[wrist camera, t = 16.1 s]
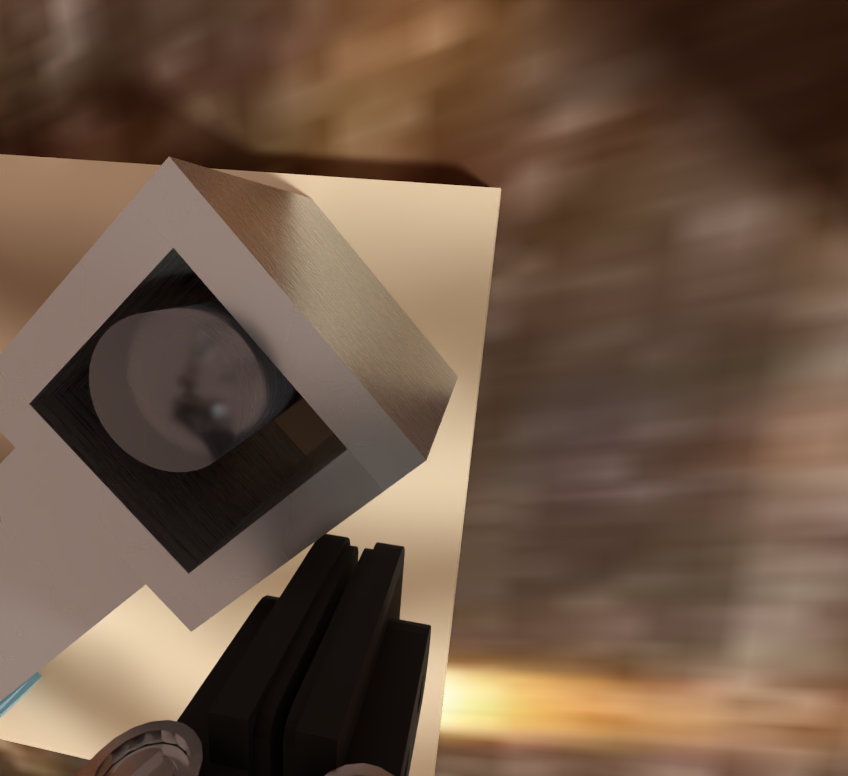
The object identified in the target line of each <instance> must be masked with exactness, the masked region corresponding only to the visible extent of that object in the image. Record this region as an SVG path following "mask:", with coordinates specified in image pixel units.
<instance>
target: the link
mask: <svg viewBox="0 0 848 776" xmlns="http://www.w3.org/2000/svg"><path fill="white" fill-rule="evenodd" d="M213 301H220V302H221V303H222V304H223V306H224V307H225V308H226V309H227V310H228V311H229V313H230V314H231V315H232V316H233V317H234V318H235V319H236V321H237V322H238V323H239V324H240V325H241V326H242V328H243V329H244V330H245V331H246V332H247V333H248V334H249V336H250V337H251V338H252V339H253V340H254V341H255V343H256V344H257V345H258V346H259V347H260V348H261V349H262V351H263V352H264V353H265V354H266V355H267V356H268V358H269V359H270V360H271V361H272V362H273V363H274V365H275V366H276V367H277V368H278V369H279V370H280V371H281V373H282V374H283V375H284V376H285V377H286V378H287V380H288V381H289V382H290V383H291V384H292V385H293V386H294V388H295V389H296V390H297V391H298V392H299V393H300V395H301V396H302V397H303V398H304V399H305V400H306V401H307V403H308V404H309V405H310V406H311V407H312V408H313V410H314V411H315V412H316V413H317V414H318V415H319V416H320V418H321V419H322V420H323V421H324V422H325V423H326V425H327V426H328V427H329V428H330V429H331V430H332V432H333V434H332V435H331V436H330V437H328V438H327V439H326V440H325V441H323V442H322V443H321V444H320V445H318V446H317V447H316V448H315V449H313V450H312V451H311V452H310V453H309V454H307V455H306V456H305V455H304V453H303V452H302V451H301V450H300V449H299V448H298V447H297V445H296V444H295V443H294V442H293V441H292V440H291V439H290V437H289V436H288V435H287V434H286V433H285V432H284V431H283V430H282V428H281V427H280V426H279V425H278V424H277V423H276V422H275V420H272V421H271V422H270V423H268V424H267V425H265V426H264V427H263V428H261V429H260V430H258V431H257V432H256V433H254V434H253V435H251V436H250V437H249V438H247V439H246V440H244V441H243V442H242V443H240V444H239V445H238V446H236V447H235V448H233V449H232V450H231V451H229V452H228V453H226V454H225V455H224V456H222V457H221V458H219V459H218V460H217V461H215V462H214V463H212V464H210V465H208V466H206V467H204V468H201V469H198V470H195V471H189V472H169V471H164V470H159V469H156V468H153V467H150V466H148V465H146V464H144V463H142V462H140V461H138V460H137V459H135V458H133V457H132V456H131V455H129V454H128V453H127V452H125V451H124V450H123V449H122V448H121V447H120V446H119V445H118V444H117V443H116V442H115V441H114V440H113V439H112V438H111V436H110V435H109V434H108V432H107V431H106V429H105V428H104V427H103V425H102V423H101V421H100V419H99V417H98V415H97V413H96V410H95V408H94V405H93V402H92V398H91V393H90V387H89V369H90V362H91V358H92V355H93V352H94V349H95V347H96V345H97V343H98V342H99V340H100V338H101V337H102V336H103V334H104V333H105V332H106V331H107V330H108V329H109V328H110V327H111V326H112V325H114V324H115V323H117V322H118V321H120V320H122V319H124V318H126V317H128V316H131V315H135V314H139V313H145V312H151V311H157V310H164V309H170V308H176V307H182V306H188V305H195V304H201V303H207V302H213ZM457 379H458V376H457V375H456V374H455V372H454V371H453V370H452V369H451V368H450V366H449V365H448V364H447V363H446V362H445V360H444V359H443V358H442V357H441V355H440V354H439V353H438V352H437V351H436V349H435V348H434V347H433V346H432V344H431V343H430V342H429V341H428V340H427V338H426V337H425V336H424V335H423V333H422V332H421V331H420V330H419V329H418V327H417V326H416V325H415V324H414V323H413V321H412V320H411V319H410V318H409V316H408V315H407V314H406V313H405V312H404V310H403V309H402V308H401V307H400V305H399V304H398V303H397V302H396V301H395V299H394V298H393V297H392V296H391V295H390V293H389V292H388V291H387V290H386V288H385V287H384V286H383V285H382V284H381V282H380V281H379V280H378V279H377V277H376V276H375V275H374V274H373V273H372V271H371V270H370V269H369V268H368V266H367V265H366V264H365V263H364V262H363V260H362V259H361V258H360V257H359V256H358V254H357V253H356V252H355V251H354V249H353V248H352V247H351V246H350V245H349V243H348V242H347V241H346V240H345V238H344V237H343V236H342V235H341V234H340V232H339V231H338V230H337V229H336V228H335V226H334V225H333V224H332V223H331V221H330V220H329V219H328V218H327V217H326V215H325V214H324V213H323V212H322V210H321V209H320V208H319V207H318V206H317V204H316V203H315V202H314V201H313V199H312V198H308V197H305V196H302V195H298V194H295V193H291V192H288V191H285V190H281V189H278V188H274V187H271V186H268V185H264V184H261V183H258V182H254V181H251V180H247V179H244V178H241V177H237V176H234V175H230V174H227V173H224V172H220V171H217V170H213V169H210V168H207V167H203V166H200V165H196V164H193V163H190V162H186V161H183V160H180V159H176V158H173V157H168V158H167V159H166V160H165V162H164V163H163V164H162V165H161V166H160V167H159V169H158V170H157V171H156V172H155V173H154V175H153V176H152V177H151V178H150V179H149V180H148V182H147V183H146V184H145V185H144V186H143V187H142V189H141V190H140V191H139V192H138V193H137V194H136V196H135V197H134V198H133V199H132V200H131V201H130V203H129V204H128V205H127V206H126V207H125V208H124V210H123V211H122V212H121V213H120V214H119V216H118V217H117V218H116V219H115V220H114V221H113V223H112V224H111V225H110V226H109V227H108V228H107V230H106V231H105V232H104V233H103V234H102V235H101V237H100V238H99V239H98V240H97V241H96V242H95V244H94V245H93V246H92V247H91V248H90V249H89V251H88V252H87V253H86V254H85V255H84V257H83V258H82V259H81V260H80V261H79V262H78V264H77V265H76V266H75V267H74V268H73V269H72V271H71V272H70V273H69V274H68V275H67V276H66V278H65V279H64V280H63V281H62V282H61V283H60V285H59V286H58V287H57V288H56V289H55V290H54V292H53V293H52V294H51V295H50V296H49V298H48V299H47V300H46V301H45V302H44V303H43V305H42V306H41V307H40V308H39V309H38V310H37V312H36V313H35V314H34V315H33V316H32V317H31V319H30V320H29V321H28V322H27V323H26V324H25V326H24V327H23V328H22V329H21V330H20V331H19V333H18V334H17V335H16V336H15V337H14V339H13V340H12V341H11V342H10V343H9V344H8V346H7V347H6V348H5V349H4V350H3V351H2V353H1V354H0V432H1V433H2V434H3V435H4V436H5V437H6V438H7V439H8V440H9V441H10V442H11V443H12V444H13V445H14V446H15V449H14V450H13V451H12V452H11V453H10V454H9V455H8V456H7V457H6V458H5V459H4V460H3V461H2V462H1V464H0V701H1V700H3V699H4V698H5V697H6V696H8V695H9V694H10V693H11V692H13V691H14V690H15V689H16V688H18V687H19V686H20V685H21V684H23V683H24V682H25V681H26V680H27V679H29V678H30V677H31V676H32V675H34V674H35V673H36V672H37V671H39V670H40V669H41V668H42V667H44V666H45V665H46V664H47V663H49V662H50V661H51V660H52V659H54V658H55V657H56V656H57V655H59V654H60V653H61V652H62V651H64V650H65V649H66V648H67V647H69V646H70V645H71V644H72V643H73V642H75V641H76V640H77V639H78V638H80V637H81V636H82V635H83V634H85V633H86V632H87V631H88V630H90V629H91V628H92V627H93V626H95V625H96V624H97V623H98V622H100V621H101V620H102V619H103V618H105V617H106V616H107V615H108V614H110V613H111V612H112V611H113V610H115V609H116V608H117V607H118V606H120V605H121V604H122V603H123V602H124V601H126V600H127V599H128V598H129V597H131V596H132V595H133V594H134V593H136V592H137V591H138V590H139V589H141V588H142V587H143V586H144V585H147V586H148V587H149V588H150V589H151V590H152V591H153V592H154V593H155V594H156V596H157V597H158V598H159V599H160V600H161V601H162V602H163V603H164V604H165V605H166V606H167V607H168V608H169V609H170V610H171V611H172V612H173V613H174V614H175V615H176V617H177V618H178V619H179V620H180V621H181V622H182V623H183V624H184V625H185V626H186V627H187V628H188V629H189V630H190V631H191V632H192V631H193V630H195V629H196V628H197V627H199V626H200V625H202V624H203V623H204V622H206V621H207V620H208V619H210V618H211V617H213V616H214V615H215V614H217V613H218V612H219V611H221V610H222V609H223V608H225V607H226V606H228V605H229V604H230V603H232V602H233V601H234V600H236V599H237V598H239V597H240V596H241V595H243V594H244V593H245V592H247V591H248V590H249V589H251V588H252V587H254V586H255V585H256V584H258V583H259V582H260V581H262V580H263V579H265V578H266V577H267V576H269V575H270V574H271V573H273V572H274V571H276V570H277V569H278V568H280V567H281V566H282V565H284V564H285V563H286V562H288V561H289V560H291V559H292V558H293V557H295V556H296V555H297V554H299V553H300V552H302V551H303V550H304V549H306V548H307V547H308V546H310V545H311V544H312V543H314V542H315V541H317V540H318V539H319V538H321V537H322V536H323V535H325V534H326V533H328V532H329V531H330V530H332V529H333V528H334V527H336V526H337V525H339V524H340V523H341V522H343V521H344V520H345V519H347V518H348V517H349V516H351V515H352V514H354V513H355V512H356V511H358V510H359V509H360V508H362V507H363V506H365V505H366V504H367V503H369V502H370V501H371V500H373V499H374V498H376V497H377V496H378V495H380V494H381V493H382V492H384V491H385V490H386V489H388V488H389V487H391V486H392V485H393V484H395V483H396V482H397V481H399V480H400V479H402V478H403V477H404V476H406V475H407V474H408V473H410V472H411V471H412V470H414V469H415V468H417V467H418V466H419V465H421V464H422V463H423V462H425V461H426V460H427V458H428V455H429V452H430V450H431V447H432V444H433V442H434V439H435V437H436V434H437V431H438V429H439V426H440V423H441V421H442V418H443V416H444V413H445V410H446V408H447V405H448V402H449V400H450V397H451V395H452V392H453V389H454V387H455V384H456V381H457Z"/></svg>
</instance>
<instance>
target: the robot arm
mask: <svg viewBox="0 0 848 776" xmlns="http://www.w3.org/2000/svg"><path fill="white" fill-rule="evenodd" d="M404 556H405V548H404V546H398V545H392V544H386V543H380V542H377V543H376V544H375V546H374V548H373V549H369V548H365V549H364V550H363V552H362V554H361V557H360V559H359V561H358V547H357V546H351V545H350V539H349V538H348V537H343V536H337V535H331V534H325V535H323V536H322V537H321V538H319V539H318V540H317V541H315V542H314V544H313V546H312V547H311V549H310V550H309V552H308V553H307V555H306V557H305V558H304V560H303V561H302V563H301V564H300V566H299V568H298V569H297V571H296V572H295V574H294V575H293V577H292V579H291V580H290V582H289V583H288V585H287V586H286V588H285V590H284V591H283V593H282V594H281V596H280V597H274V596H269V595H266V596H264V597H262V599H261V600H260V601H259V602H258V603H257V605H256V606H255V608H254V609H253V611H252V612H251V613H250V615H249V616H248V618H247V619H246V621H245V622H244V624H243V625H242V627H241V628H240V630H239V631H238V632H237V634H236V635H235V637H234V638H233V640H232V641H231V643H230V644H229V646H228V647H227V649H226V650H225V651H224V653H223V654H222V656H221V657H220V659H219V660H218V662H217V663H216V665H215V666H214V668H213V669H212V670H211V672H210V673H209V675H208V676H207V678H206V679H205V681H204V682H203V684H202V685H201V687H200V688H199V689H198V691H197V692H196V694H195V695H194V697H193V698H192V700H191V701H190V703H189V704H188V706H187V707H186V708H185V710H184V711H183V713H182V714H181V716H180V717H179V719H178V720H177V722H176V721H171V720H161V721H151V722H148V723H145V724H142V725H139V726H136V727H133V728H131V729H129V730H128V731H126V732H124V733H122V734H121V735H119V736H117V737H115V738H114V739H113V740H112V741H110V742H109V743H108V744H107V745H106V746H105V747H103V748H102V749H101V750H100V751H99V752H98V753H97V754H96V755H95V756H94V757H93V758H92V759H91V760H90V761H89V762H88V763H87V764H86V765H85V766H84V767H83V768H82V769H81V770H80V771H79V772H78V773H77V774H76V775H75V776H409V771H410V766H411V760H412V755H413V749H414V744H415V739H416V733H417V728H418V722H419V717H420V711H421V706H422V700H423V694H424V687H425V681H426V673H427V666H428V657H429V647H430V638H431V625H427V624H422V623H416V622H411V621H405V620H400V608H401V595H402V582H403V569H404Z"/></svg>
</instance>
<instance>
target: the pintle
mask: <svg viewBox="0 0 848 776" xmlns="http://www.w3.org/2000/svg"><path fill="white" fill-rule="evenodd" d="M89 387H90V393H91V398H92V402H93V405H94V408H95V410H96V413H97V415H98V417H99V419H100V421H101V423H102V425H103V427H104V428H105V429H106V431H107V432H108V434H109V435H110V436H111V438H112V439H113V440H114V441H115V442H116V443H117V444H118V445H119V446H120V447H121V448H122V449H123V450H124V451H125V452H127V453H128V454H129V455H131V456H132V457H133V458H135V459H137V460H138V461H140V462H142V463H144V464H146V465H148V466H150V467H153V468H156V469H159V470H164V471H169V472H189V471H195V470H198V469H201V468H204V467H206V466H208V465H210V464H212V463H214V462H215V461H217V460H218V459H219V458H221V457H222V456H224V455H225V454H226V453H228V452H229V451H231V450H232V449H233V448H235V447H236V446H238V445H239V444H240V443H242V442H243V441H244V440H246V439H247V438H249V437H250V436H251V435H253V434H254V433H256V432H257V431H258V430H260V429H261V428H263V427H264V426H265V425H267V424H268V423H270V422H271V421H272V420H274V419H275V418H276V417H278V416H279V415H281V414H282V413H283V412H285V411H286V410H288V409H289V408H290V407H292V406H293V405H295V404H296V403H297V402H299V401H300V400H302V399H303V397H302V396H301V395H300V393H299V392H298V391H297V390H296V389H295V388H294V386H293V385H292V384H291V383H290V382H289V381H288V380H287V378H286V377H285V376H284V375H283V374H282V373H281V371H280V370H279V369H278V368H277V367H276V366H275V365H274V363H273V362H272V361H271V360H270V359H269V358H268V356H267V355H266V354H265V353H264V352H263V351H262V349H261V348H260V347H259V346H258V345H257V344H256V343H255V341H254V340H253V339H252V338H251V337H250V336H249V334H248V333H247V332H246V331H245V330H244V329H243V328H242V326H241V325H240V324H239V323H238V322H237V321H236V319H235V318H234V317H233V316H232V315H231V314H230V313H229V311H228V310H227V309H226V308H225V307H224V306H223V304H222V303H221V302H220V301H213V302H207V303H201V304H195V305H188V306H182V307H176V308H170V309H164V310H157V311H151V312H145V313H139V314H135V315H131V316H128V317H126V318H124V319H122V320H120V321H118V322H117V323H115V324H114V325H112V326H111V327H110V328H109V329H108V330H107V331H106V332H105V333H104V334H103V336H102V337H101V338H100V340H99V342H98V343H97V345H96V347H95V349H94V352H93V355H92V358H91V362H90V369H89Z"/></svg>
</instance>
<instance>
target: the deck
mask: <svg viewBox="0 0 848 776" xmlns="http://www.w3.org/2000/svg"><path fill="white" fill-rule="evenodd" d="M160 166H161V165H152V164H137V163H123V162H108V161H93V160H78V159H64V158H49V157H34V156H20V155H5V154H0V354H1V353H2V351H3V350H4V349H5V348H6V347H7V346H8V344H9V343H10V342H11V341H12V340H13V339H14V337H15V336H16V335H17V334H18V333H19V331H20V330H21V329H22V328H23V327H24V326H25V324H26V323H27V322H28V321H29V320H30V319H31V317H32V316H33V315H34V314H35V313H36V312H37V310H38V309H39V308H40V307H41V306H42V305H43V303H44V302H45V301H46V300H47V299H48V298H49V296H50V295H51V294H52V293H53V292H54V290H55V289H56V288H57V287H58V286H59V285H60V283H61V282H62V281H63V280H64V279H65V278H66V276H67V275H68V274H69V273H70V272H71V271H72V269H73V268H74V267H75V266H76V265H77V264H78V262H79V261H80V260H81V259H82V258H83V257H84V255H85V254H86V253H87V252H88V251H89V249H90V248H91V247H92V246H93V245H94V244H95V242H96V241H97V240H98V239H99V238H100V237H101V235H102V234H103V233H104V232H105V231H106V230H107V228H108V227H109V226H110V225H111V224H112V223H113V221H114V220H115V219H116V218H117V217H118V216H119V214H120V213H121V212H122V211H123V210H124V208H125V207H126V206H127V205H128V204H129V203H130V201H131V200H132V199H133V198H134V197H135V196H136V194H137V193H138V192H139V191H140V190H141V189H142V187H143V186H144V185H145V184H146V183H147V182H148V180H149V179H150V178H151V177H152V176H153V175H154V173H155V172H156V171H157V170H158V169H159V167H160ZM210 169H211V168H210ZM213 170H217V171H220V172H224V173H227V174H230V175H234V176H237V177H241V178H244V179H247V180H251V181H254V182H258V183H261V184H264V185H268V186H271V187H274V188H278V189H281V190H285V191H288V192H291V193H295V194H298V195H302V196H305V197H308V198H312V199H313V201H314V202H315V203H316V204H317V206H318V207H319V208H320V209H321V210H322V212H323V213H324V214H325V215H326V217H327V218H328V219H329V220H330V221H331V223H332V224H333V225H334V226H335V228H336V229H337V230H338V231H339V232H340V234H341V235H342V236H343V237H344V238H345V240H346V241H347V242H348V243H349V245H350V246H351V247H352V248H353V249H354V251H355V252H356V253H357V254H358V256H359V257H360V258H361V259H362V260H363V262H364V263H365V264H366V265H367V266H368V268H369V269H370V270H371V271H372V273H373V274H374V275H375V276H376V277H377V279H378V280H379V281H380V282H381V284H382V285H383V286H384V287H385V288H386V290H387V291H388V292H389V293H390V295H391V296H392V297H393V298H394V299H395V301H396V302H397V303H398V304H399V305H400V307H401V308H402V309H403V310H404V312H405V313H406V314H407V315H408V316H409V318H410V319H411V320H412V321H413V323H414V324H415V325H416V326H417V327H418V329H419V330H420V331H421V332H422V333H423V335H424V336H425V337H426V338H427V340H428V341H429V342H430V343H431V344H432V346H433V347H434V348H435V349H436V351H437V352H438V353H439V354H440V355H441V357H442V358H443V359H444V360H445V362H446V363H447V364H448V365H449V366H450V368H451V369H452V370H453V371H454V372H455V374H456V375H457V376H458V379H457V381H456V384H455V387H454V389H453V392H452V395H451V397H450V400H449V402H448V405H447V408H446V410H445V413H444V416H443V418H442V421H441V423H440V426H439V429H438V431H437V434H436V437H435V439H434V442H433V444H432V447H431V450H430V452H429V455H428V458H427V460H426V461H425V462H423V463H422V464H421V465H419V466H418V467H417V468H415V469H414V470H412V471H411V472H410V473H408V474H407V475H406V476H404V477H403V478H402V479H400V480H399V481H397V482H396V483H395V484H393V485H392V486H391V487H389V488H388V489H386V490H385V491H384V492H382V493H381V494H380V495H378V496H377V497H376V498H374V499H373V500H371V501H370V502H369V503H367V504H366V505H365V506H363V507H362V508H360V509H359V510H358V511H356V512H355V513H354V514H352V515H351V516H349V517H348V518H347V519H345V520H344V521H343V522H341V523H340V524H339V525H337V526H336V527H334V528H333V529H332V530H330V531H329V532H328V533H326V534H331V535H337V536H343V537H348V538H349V539H350V545H351V546H357V547H358V561H359V559H360V557H361V554H362V552H363V550H364V549H365V548H369V549H373V548H374V546H375V544H376V543H377V542H380V543H386V544H392V545H398V546H404V548H405V556H404V569H403V582H402V595H401V608H400V620H405V621H411V622H416V623H422V624H427V625H431V638H430V647H429V657H428V666H427V673H426V681H425V687H424V694H423V700H422V706H421V711H420V717H419V722H418V728H417V733H416V739H415V744H414V749H413V755H412V760H411V766H410V771H409V776H434V775H435V767H436V758H437V749H438V740H439V732H440V723H441V714H442V706H443V697H444V688H445V679H446V671H447V662H448V653H449V644H450V636H451V627H452V618H453V610H454V601H455V592H456V583H457V575H458V566H459V557H460V549H461V540H462V531H463V522H464V514H465V505H466V496H467V487H468V479H469V470H470V461H471V453H472V444H473V435H474V426H475V418H476V409H477V400H478V392H479V383H480V374H481V365H482V357H483V348H484V339H485V330H486V322H487V313H488V304H489V296H490V287H491V278H492V269H493V261H494V252H495V243H496V235H497V226H498V217H499V208H500V200H501V188H491V187H476V186H461V185H447V184H432V183H417V182H402V181H388V180H373V179H358V178H343V177H329V176H314V175H299V174H285V173H270V172H255V171H240V170H226V169H213ZM274 420H275V422H276V423H277V424H278V425H279V426H280V427H281V428H282V430H283V431H284V432H285V433H286V434H287V435H288V436H289V437H290V439H291V440H292V441H293V442H294V443H295V444H296V445H297V447H298V448H299V449H300V450H301V451H302V452H303V453H304V455H305V456H306V455H307V454H309V453H310V452H311V451H312V450H313V449H315V448H316V447H317V446H318V445H320V444H321V443H322V442H323V441H325V440H326V439H327V438H328V437H330V436H331V435H332V434H333V432H332V430H331V429H330V428H329V427H328V426H327V425H326V423H325V422H324V421H323V420H322V419H321V418H320V416H319V415H318V414H317V413H316V412H315V411H314V410H313V408H312V407H311V406H310V405H309V404H308V403H307V401H306V400H305V399H304V398H303V399H302V400H300V401H299V402H297V403H296V404H295V405H293V406H292V407H290V408H289V409H288V410H286V411H285V412H283V413H282V414H281V415H279V416H278V417H276V418H275V419H274ZM14 449H15V446H14V445H13V444H12V443H11V442H10V441H9V440H8V439H7V438H6V437H5V436H4V435H3V434H2V433H1V432H0V464H1V462H2V461H3V460H4V459H5V458H6V457H7V456H8V455H9V454H10V453H11V452H12V451H13V450H14ZM313 544H314V543H312V544H311V545H310V546H308V547H307V548H306V549H304V550H303V551H302V552H300V553H299V554H297V555H296V556H295V557H293V558H292V559H291V560H289V561H288V562H286V563H285V564H284V565H282V566H281V567H280V568H278V569H277V570H276V571H274V572H273V573H271V574H270V575H269V576H267V577H266V578H265V579H263V580H262V581H260V582H259V583H258V584H256V585H255V586H254V587H252V588H251V589H249V590H248V591H247V592H245V593H244V594H243V595H241V596H240V597H239V598H237V599H236V600H234V601H233V602H232V603H230V604H229V605H228V606H226V607H225V608H223V609H222V610H221V611H219V612H218V613H217V614H215V615H214V616H213V617H211V618H210V619H208V620H207V621H206V622H204V623H203V624H202V625H200V626H199V627H197V628H196V629H195V630H193V631H192V632H191V631H190V630H189V629H188V628H187V627H186V626H185V625H184V624H183V623H182V622H181V621H180V620H179V619H178V618H177V617H176V615H175V614H174V613H173V612H172V611H171V610H170V609H169V608H168V607H167V606H166V605H165V604H164V603H163V602H162V601H161V600H160V599H159V598H158V597H157V596H156V594H155V593H154V592H153V591H152V590H151V589H150V588H149V587H148V586H147V585H144V586H143V587H142V588H141V589H139V590H138V591H137V592H136V593H134V594H133V595H132V596H131V597H129V598H128V599H127V600H126V601H124V602H123V603H122V604H121V605H120V606H118V607H117V608H116V609H115V610H113V611H112V612H111V613H110V614H108V615H107V616H106V617H105V618H103V619H102V620H101V621H100V622H98V623H97V624H96V625H95V626H93V627H92V628H91V629H90V630H88V631H87V632H86V633H85V634H83V635H82V636H81V637H80V638H78V639H77V640H76V641H75V642H73V643H72V644H71V645H70V646H69V647H67V648H66V649H65V650H64V651H62V652H61V653H60V654H59V655H57V656H56V657H55V658H54V659H52V660H51V661H50V662H49V663H47V664H46V665H45V666H44V667H42V668H41V669H40V670H39V671H37V672H38V673H40V674H41V675H42V677H41V678H40V679H39V680H38V681H37V682H36V683H35V684H34V685H33V686H32V688H31V689H30V690H29V691H28V692H27V693H26V694H25V695H24V696H23V697H22V698H21V699H20V700H19V701H18V702H17V703H16V704H15V705H14V706H13V707H12V708H11V709H9V710H8V711H7V712H6V713H5V714H4V715H3V716H2V717H1V718H0V739H3V740H7V741H11V742H16V743H20V744H24V745H29V746H33V747H37V748H42V749H46V750H50V751H54V752H59V753H63V754H67V755H72V756H76V757H80V758H85V759H89V760H91V759H92V758H93V757H94V756H95V755H96V754H97V753H98V752H99V751H100V750H101V749H102V748H103V747H105V746H106V745H107V744H108V743H109V742H110V741H112V740H113V739H114V738H115V737H117V736H119V735H121V734H122V733H124V732H126V731H128V730H129V729H131V728H133V727H136V726H139V725H142V724H145V723H148V722H151V721H161V720H171V721H176V722H177V720H178V719H179V717H180V716H181V714H182V713H183V711H184V710H185V708H186V707H187V706H188V704H189V703H190V701H191V700H192V698H193V697H194V695H195V694H196V692H197V691H198V689H199V688H200V687H201V685H202V684H203V682H204V681H205V679H206V678H207V676H208V675H209V673H210V672H211V670H212V669H213V668H214V666H215V665H216V663H217V662H218V660H219V659H220V657H221V656H222V654H223V653H224V651H225V650H226V649H227V647H228V646H229V644H230V643H231V641H232V640H233V638H234V637H235V635H236V634H237V632H238V631H239V630H240V628H241V627H242V625H243V624H244V622H245V621H246V619H247V618H248V616H249V615H250V613H251V612H252V611H253V609H254V608H255V606H256V605H257V603H258V602H259V601H260V600H261V599H262V597H264V596H266V595H269V596H274V597H280V596H281V594H282V593H283V591H284V590H285V588H286V586H287V585H288V583H289V582H290V580H291V579H292V577H293V575H294V574H295V572H296V571H297V569H298V568H299V566H300V564H301V563H302V561H303V560H304V558H305V557H306V555H307V553H308V552H309V550H310V549H311V547H312V546H313Z"/></svg>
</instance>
